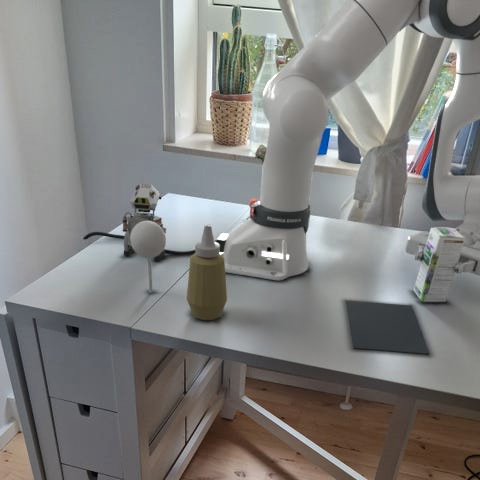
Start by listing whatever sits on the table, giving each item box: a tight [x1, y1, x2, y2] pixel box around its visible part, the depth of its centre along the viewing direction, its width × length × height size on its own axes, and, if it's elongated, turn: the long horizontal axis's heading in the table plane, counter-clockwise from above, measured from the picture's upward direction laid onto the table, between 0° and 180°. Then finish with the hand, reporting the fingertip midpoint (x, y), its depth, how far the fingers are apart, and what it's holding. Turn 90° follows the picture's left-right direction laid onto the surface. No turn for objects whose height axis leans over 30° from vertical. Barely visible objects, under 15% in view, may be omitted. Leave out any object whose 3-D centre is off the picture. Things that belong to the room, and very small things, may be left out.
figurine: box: [122, 183, 167, 262], centre depth 133 cm, size 9×12×15 cm
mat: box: [345, 300, 429, 355], centre depth 114 cm, size 14×20×1 cm
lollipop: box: [130, 221, 167, 294], centre depth 116 cm, size 7×7×15 cm
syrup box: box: [413, 226, 465, 303], centre depth 121 cm, size 6×6×14 cm
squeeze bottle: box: [186, 223, 228, 321], centre depth 109 cm, size 8×8×18 cm
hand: (437, 263), depth 120 cm, fingers closed on syrup box, 7 cm apart
